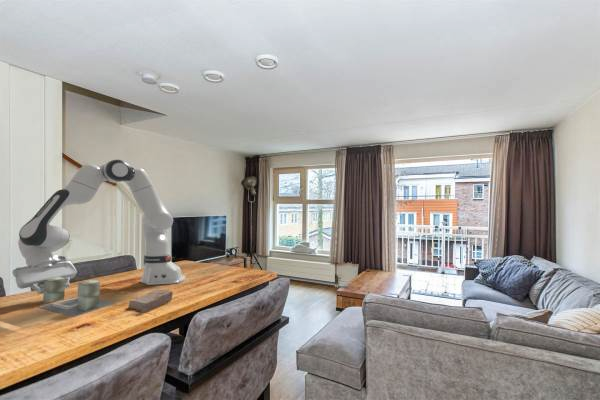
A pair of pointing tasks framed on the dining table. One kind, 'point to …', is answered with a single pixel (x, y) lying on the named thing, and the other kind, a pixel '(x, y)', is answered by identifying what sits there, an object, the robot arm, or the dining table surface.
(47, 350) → the dining table surface
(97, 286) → the column
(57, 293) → the column
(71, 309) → the base board
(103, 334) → the dining table surface
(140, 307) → the brick
